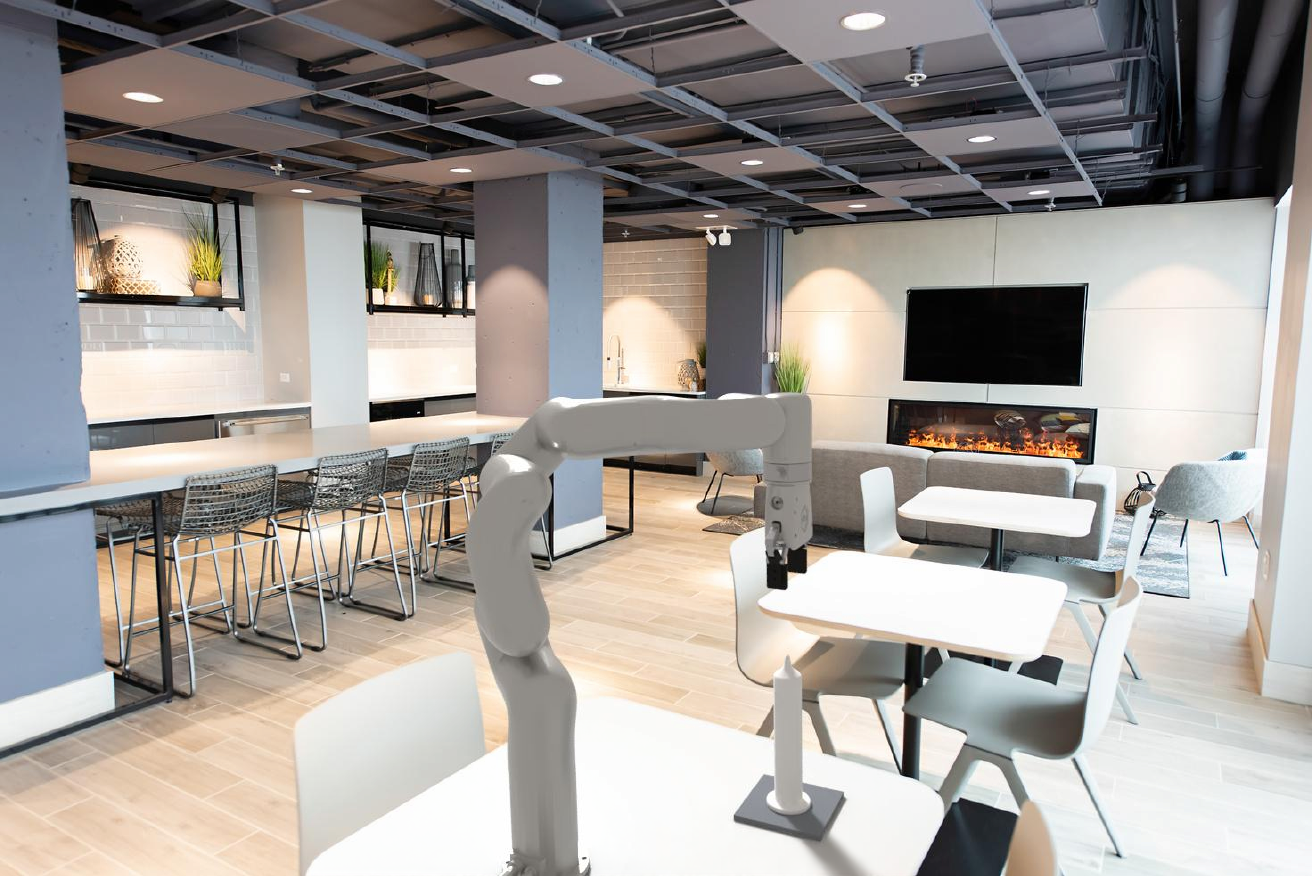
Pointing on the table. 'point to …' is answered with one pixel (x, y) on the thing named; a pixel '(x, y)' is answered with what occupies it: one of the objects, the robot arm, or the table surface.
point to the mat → (801, 824)
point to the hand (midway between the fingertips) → (787, 580)
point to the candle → (788, 743)
